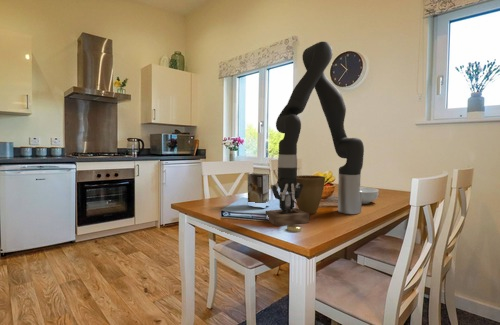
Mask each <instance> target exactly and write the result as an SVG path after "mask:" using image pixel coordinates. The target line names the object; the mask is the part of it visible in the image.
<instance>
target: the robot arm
mask: <svg viewBox="0 0 500 325" xmlns="http://www.w3.org/2000/svg"><path fill="white" fill-rule="evenodd" d="M333 54H334V53H333V47H332V46H331V44H330V43H328V42H327V41H319V42H316V43H315V44H312V45H311V46H309V47H307V48H306V49H304V51H303V52H302V63H303V66H304V68H305V70H306V72H305V73H304V75H303V76H302V77H301V79H300V80H299V81H298V82H297V83H296V85H295V87H294V88H293V90H292V93H291V94H290V97H289V99H288V101H287V103H286V105H285V106H284V107H283V109H282V110H281V112H280V113H279V114H278V116H277V118H276V121H275V128H276V130H277V131H278V133H281V134H284V135H283V138H282V139H281V140H279V142H278V159H277V181H276V183H274V184H271V185H270V188H271V191H272V194H273V196H274V198H275V199H276V200H278V201H279V209H280V210H285V201H284V199H285V195H286V194H291V209H293V208H295V201H296V198H299V196H300V193H301V190H302V188H303V184H300V183H297V180H296V178H297V176H298V157H297V156H298V155H297V152H298V150H297V149H298V148H297V147H298V145H297V144H298V141H299V139H300V138H299V137H300V133H301V129H302V122H301V119H300V117H299V114H302V113H303V112H304V110H305V108H306V106H307V103H308V102H309V100H310V97H311V95H312V92H313V90H314V89H315V92H316V95H317V97H318V99H319V102H320V106H321V108H322V109H321V110H322V112H323V114H324V117H325V119H326V122H327V125H328V128H329V131H330V134H331V139H332V142H333V143H332V144H333V147H334V151H335V153H336V155H337V156H338V157H339V158H342V159H346V161H345V164H344V165H342V166H339V168H338V184H337V185H338V186H337V187H338V189H337V190H338V192H337V211H338V213H340V214H346V215H357V214H358V215H359V214H360V213H362V205H363V204H362V191H360V187H361V174H362V173H361V172H362V169H363V165H364V152H365V150H364V149H365V148H364V147H365V146H364V143H363V141H362V140H361V139H360V138H358V137H348V136H347V133H346V130H345V125H344V123H345V118H346V113H347V111H346V110H347V107H346V104H345V101H344V98H343V96H342V92H340V90H339V89H338V88H337V87H336V86H335V85H334V84H333V83H332V82H331V81H330V80H329V78H328V77H327V75H326V73H325V70H326V68H327V67H328V66H329V64H330V63H331V60H332V58H333ZM295 187H296V190H295V191H294V188H295ZM278 189H279V190H278Z"/></svg>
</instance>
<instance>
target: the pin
mask: <svg viewBox="0 0 500 325" xmlns="http://www.w3.org/2000/svg"><path fill="white" fill-rule="evenodd" d="M284 201H285V210H283V213H291V194H288V193H286V195H285V199H284Z"/></svg>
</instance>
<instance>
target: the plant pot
mask: <svg viewBox="0 0 500 325" xmlns="http://www.w3.org/2000/svg"><path fill="white" fill-rule="evenodd" d="M296 180H297V183H300V184H303V188H302V190H301V193H300V196H299V198H296V199H295V201H296V205H297V207H298V208H297V209H299V210H302V211H304V212H306V213H309V215H310V214H315V213H317V211H318V209H319V206H320V204H321V201H322V197H323V193H324V188H325V181H326V176H322V175H307V174H305V175H304V174H303V175H297V178H296ZM295 190H296V187H295V188H294V191H295Z"/></svg>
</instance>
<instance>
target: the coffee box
mask: <svg viewBox="0 0 500 325" xmlns="http://www.w3.org/2000/svg"><path fill="white" fill-rule="evenodd" d="M268 201H269V202H270V174H268V173H267V174H266V173H256V172H254V173H253V172H252V173H249V174H247V203H248V202H255V203H266V202H268Z"/></svg>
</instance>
